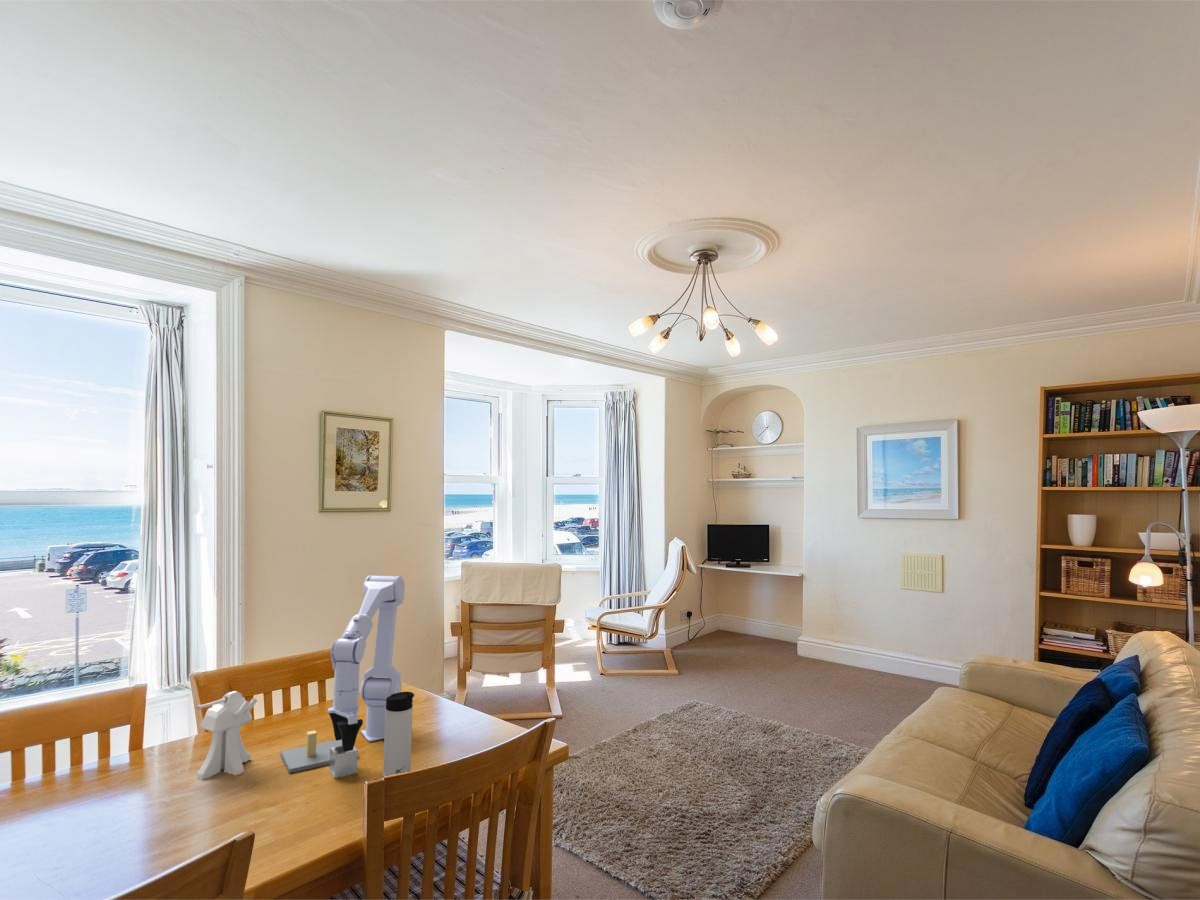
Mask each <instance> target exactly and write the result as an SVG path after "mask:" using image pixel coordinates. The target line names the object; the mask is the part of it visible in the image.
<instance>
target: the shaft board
mask: <svg viewBox="0 0 1200 900" xmlns="http://www.w3.org/2000/svg"><path fill="white" fill-rule="evenodd" d="M317 735H318V733H317V731H316V730H311V731H310V730H309V731H306V736H305V737H306V739H305V741H306V742H305V746H301V747H300V746H299V747H294V748H291V749H290V748H289V749H285V750H281V751H280V757H281V760H282V762H283V764H284V763H285V764H284V765H286V766H285V767H287V768H286V770H287V773H288V774H293V773H292V772H294V773H298V772H302V771H306V770H305V769H307V770H310V769H309V768H311V769H315V768H314V767H316V768H318V766H320V767H323V766H322V765H324V766H328V765H327V764H329V765H330V747H335V746H340V745H342V740H337V741H336V739H335V740H329V741H324V742H319V743H317V739H318V738H317V737H318V736H317ZM301 770H302V771H301ZM297 771H298V772H297Z"/></svg>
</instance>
